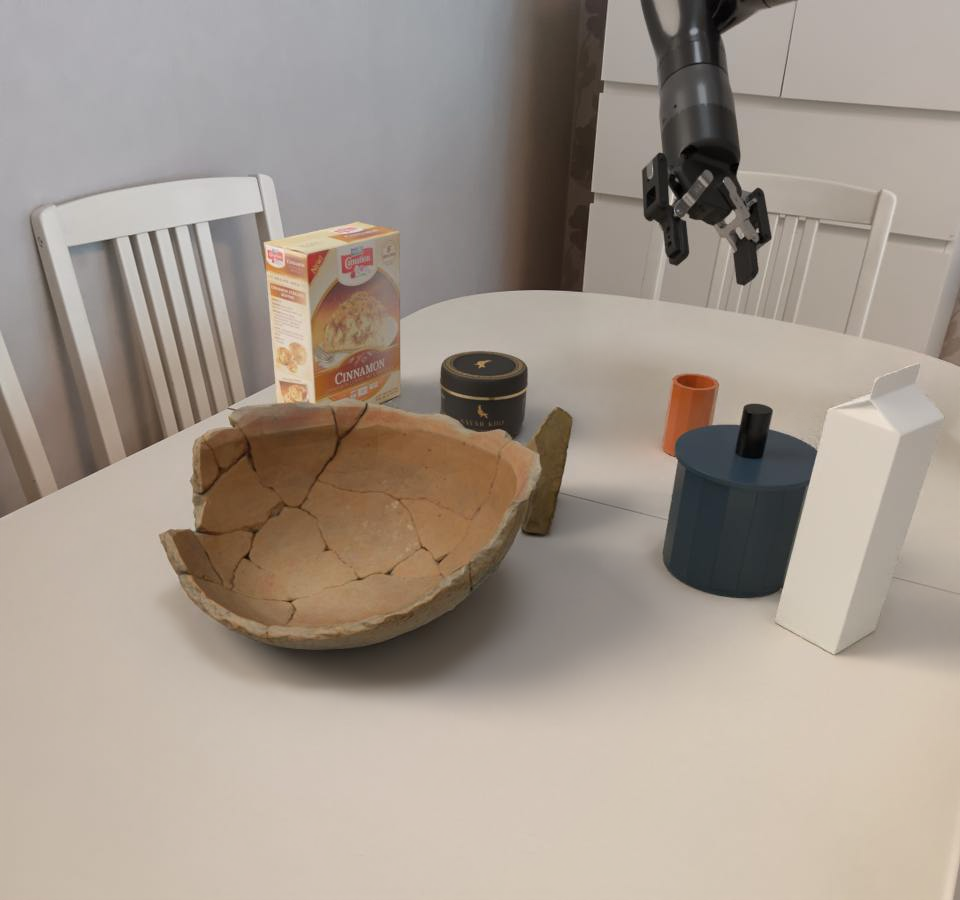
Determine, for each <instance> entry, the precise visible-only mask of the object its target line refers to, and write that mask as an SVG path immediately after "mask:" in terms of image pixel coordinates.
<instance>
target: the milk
mask: <svg viewBox="0 0 960 900" xmlns="http://www.w3.org/2000/svg"><path fill="white" fill-rule="evenodd" d="M920 367H921V363H919V362H916V363H914V364H911V365H908V366H905V367H901V368H899V369H897V370H894V371H891V372H888V373H886V374H883V375H880V376H877V377H876V378H875V380H874V381H873V384H872V387H871V391H870V393H868V394H865V395H862V396H859V397H857V398H855V399H852V400H849V401H846V402H843V403H840V404H838V405H836V406H833V407H830V408H828V409H827V412H826V416H825V419H824V424H823V428H822V432H821V435H820V440H819V444H818V447H817V455H816V459H815V463H814V467H813V471H812V475H811V479H810V483H809V487H808V491H807V495H806V499H805V503H804V507H803V511H802V515H801V519H800V523H799V527H798V531H797V535H796V539H795V543H794V546H793V550H792V554H791V558H790V562H789V566H788V570H787V574H786V578H785V582H784V586H783V588H782V591H781V595H780V599H779V603H778V607H777V609H776V615H775V619H774V623H775V624H777V625H779V626H781V627H782V628H785V629H786V630H788V631H790V632H792V633H794V634H795V635H797V636H799V637H801V638H803V639H805V640H806V641H808V642H810V643H812V644H814V645H816V646H817V647H819V648H820V649H823V650H825V651H826V652H828V653H830V654H832V655H835V656H836V655H837V654H838V653H840V652H841V651H844V650H845V649H847V648H848V647H850V646H851V645H853V644H855V643H857V642H858V641H859V640H862V639H863V638H865V637H866V636H868V635H870V634H871V633H873V632H874V631H876V629H877V626H878V622H879V620H880V616H881V613H882V611H883V607H884V604H885V602H886V598H887V596H888V592H889V589H890V586H891V583H892V580H893V577H894V574H895V571H896V568H897V565H898V561H899V559H900V555H901V552H902V549H903V546H904V544H905V541H906V537H907V534H908V530H909V528H910V525H911V521H912V518H913V516H914V512H915V509H916V507H917V503H918V500H919V498H920V495H921V491H922V489H923V485H924V482H925V478H926V475H927V472H928V470H929V467H930V464H931V461H932V457H933V455H934V451H935V448H936V446H937V442H938V439H939V436H940V432H941V429H942V428H943V427H942V426H943V423H944V420H945V416H944V414H943V413H942V412H941V411H940V410H939V408H938V407H937V406H936V405H935V404H934V402H933V401H931V400H930V398H929V397H928V396H927V394H925V392H924V391H923V390H922V389H921V388H920V386H919V385H918V384H917V378H918V375H919V372H920Z"/></svg>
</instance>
